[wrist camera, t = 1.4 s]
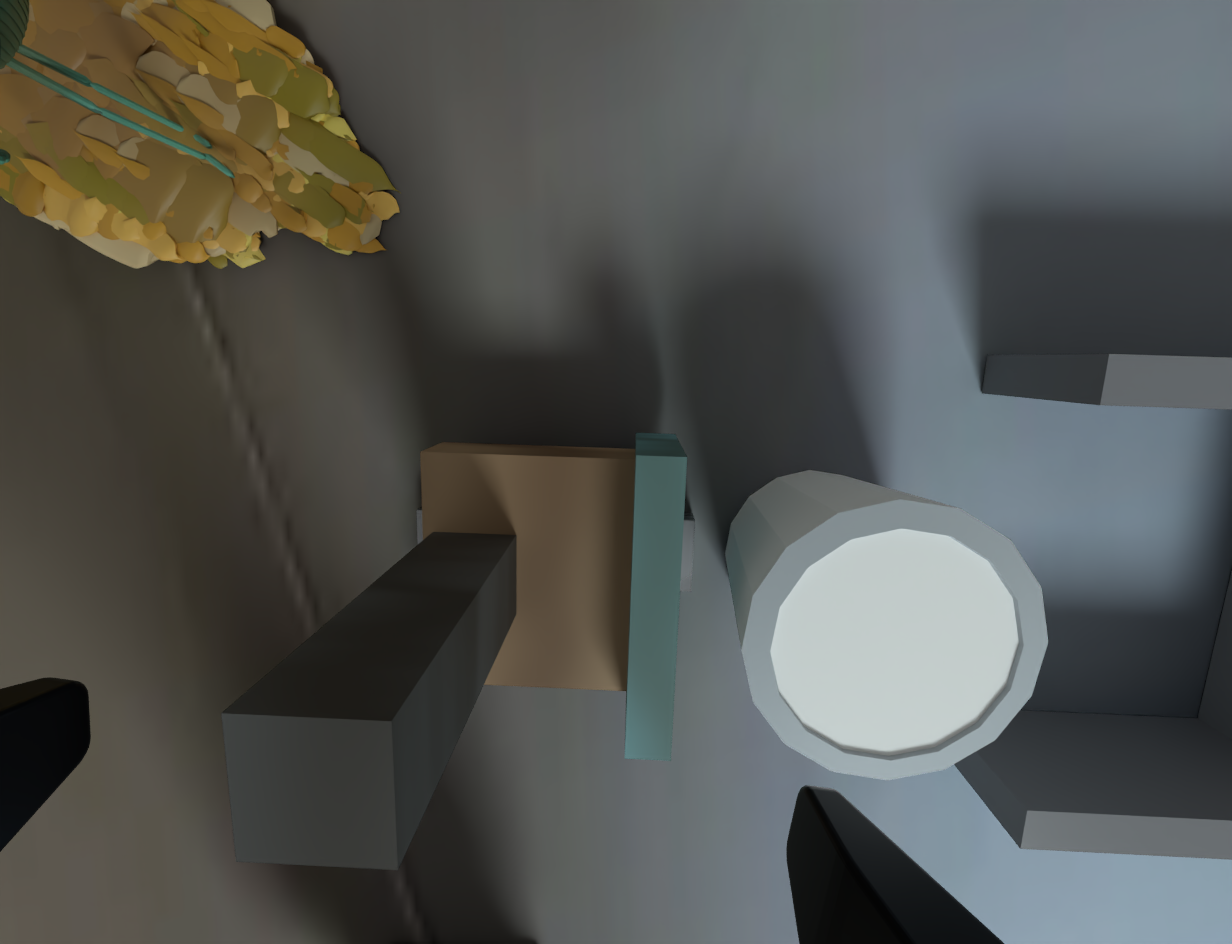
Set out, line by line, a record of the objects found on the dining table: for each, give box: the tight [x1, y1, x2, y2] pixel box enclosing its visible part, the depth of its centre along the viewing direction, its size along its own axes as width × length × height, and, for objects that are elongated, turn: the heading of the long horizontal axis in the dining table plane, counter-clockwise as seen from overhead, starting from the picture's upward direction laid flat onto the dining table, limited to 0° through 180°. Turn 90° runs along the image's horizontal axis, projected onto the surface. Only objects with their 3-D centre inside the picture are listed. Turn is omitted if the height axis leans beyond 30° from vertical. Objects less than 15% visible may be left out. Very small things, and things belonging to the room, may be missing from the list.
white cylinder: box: [725, 470, 1048, 780], centre depth 17 cm, size 7×7×7 cm
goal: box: [954, 354, 1232, 859], centre depth 18 cm, size 10×13×5 cm
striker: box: [221, 433, 687, 870], centre depth 14 cm, size 7×8×11 cm
